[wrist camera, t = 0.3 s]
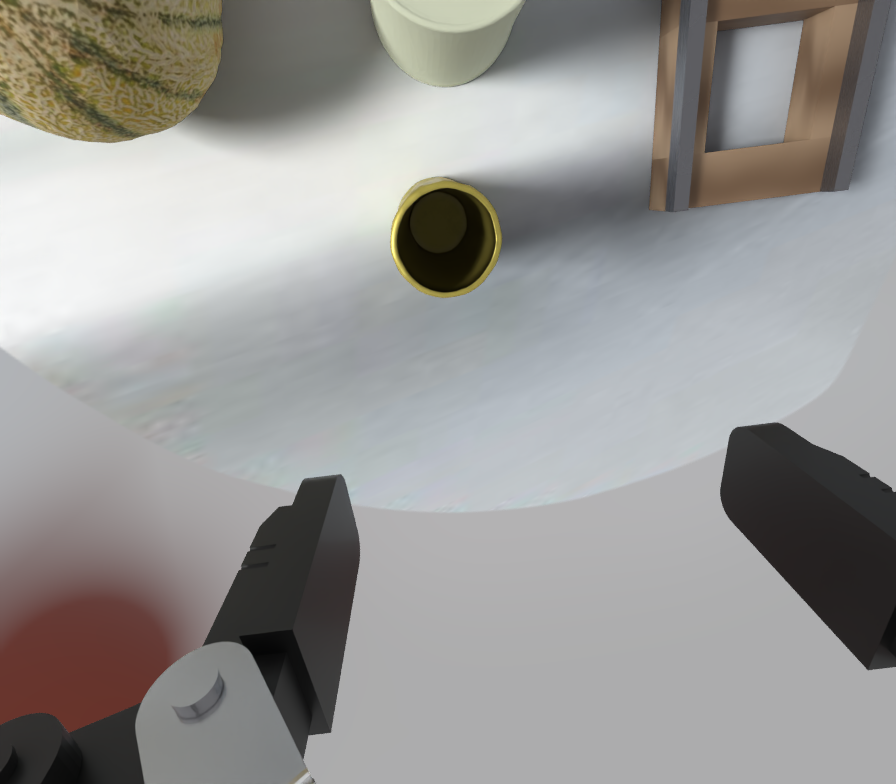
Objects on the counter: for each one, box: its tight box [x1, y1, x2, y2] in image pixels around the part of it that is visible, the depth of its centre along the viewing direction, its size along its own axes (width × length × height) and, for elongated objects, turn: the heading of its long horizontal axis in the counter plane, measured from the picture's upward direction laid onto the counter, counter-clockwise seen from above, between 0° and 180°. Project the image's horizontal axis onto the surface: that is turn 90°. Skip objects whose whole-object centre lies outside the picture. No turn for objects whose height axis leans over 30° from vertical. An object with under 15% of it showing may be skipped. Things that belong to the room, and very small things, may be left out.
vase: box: [390, 177, 502, 298], centre depth 28 cm, size 6×6×14 cm
